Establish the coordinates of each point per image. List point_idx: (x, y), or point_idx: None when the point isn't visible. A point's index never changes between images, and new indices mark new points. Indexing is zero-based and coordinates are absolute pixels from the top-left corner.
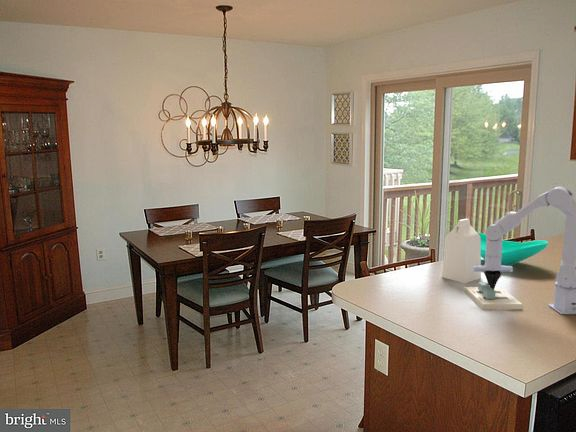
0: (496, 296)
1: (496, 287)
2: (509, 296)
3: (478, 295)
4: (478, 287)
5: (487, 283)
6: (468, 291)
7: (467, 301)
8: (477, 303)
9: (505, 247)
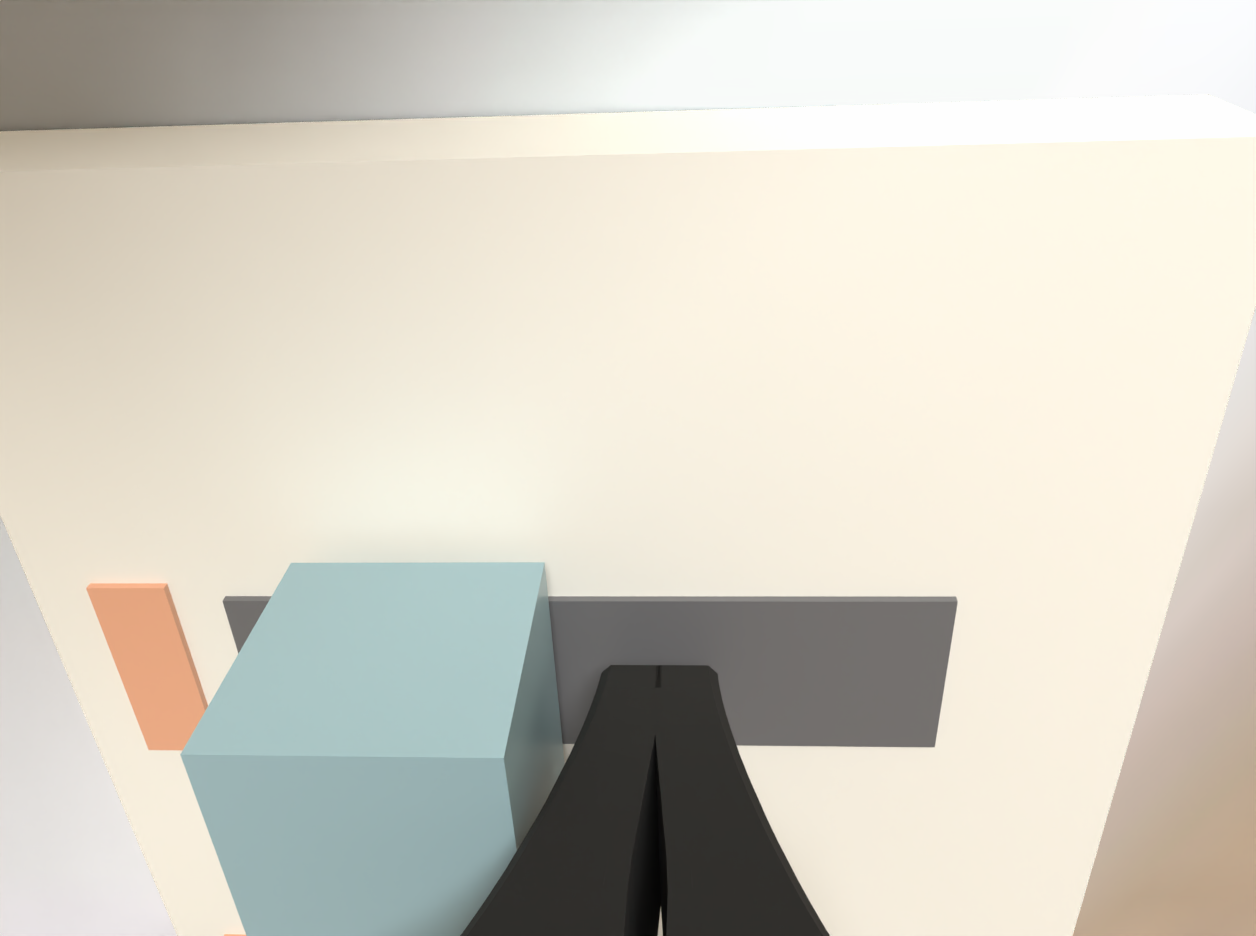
0: None
1: (1096, 209)
2: (991, 934)
3: None
4: (265, 629)
5: None
6: (26, 513)
7: (70, 796)
8: None
9: None
